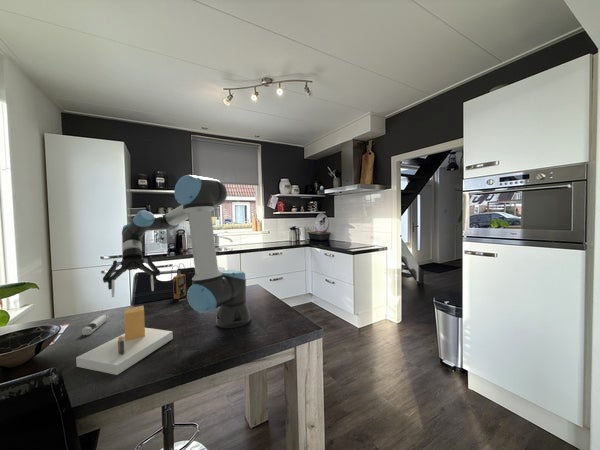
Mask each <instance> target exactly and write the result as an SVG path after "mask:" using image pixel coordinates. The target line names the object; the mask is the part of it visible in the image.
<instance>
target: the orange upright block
mask: <svg viewBox="0 0 600 450" xmlns="http://www.w3.org/2000/svg"><path fill="white" fill-rule="evenodd" d="M123 315H124V316H123V318H124V334H125V341H128V340H132V339H136V338H140V337H144V336H145V328H146V324H145V307H144V305H139V306H134V307H128V308H124V314H123Z"/></svg>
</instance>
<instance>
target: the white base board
mask: <svg viewBox="0 0 600 450" xmlns="http://www.w3.org/2000/svg"><path fill="white" fill-rule="evenodd" d="M173 333H174V332H173V331H172V330H165V329H158V328H152V327H151V328H149V327H145V336H144V337H140V338H136V339H132V340H128V341H125V333H122V334H120V335H119V336H116V337H115V338H113V339H110V340H109V341H107V342H105V343H103V344H101V345H99V346H96V347H95V348H92V349H90V350H89V351H86V352H85V353H82V354H80V355H78V356H76V358H75V360H76V368H77V367H78V368H83V369H86V370H87V369H88V370H91V371H96V372H101V373H106V374H110V375H115V376H118V375H119V374H121V373H122V372H124V371H125V370H127V369H129V368H130V367H132V366H133V365H135V364H136V363H138V362H139V361H142V360H143V359H144V358H145V357H147V356H149V355H150V354H152V353H154V351H156V350H157V349H159V348H161V347H163V346H164V345H166V344H168V342H170V341H172V340H173V338H174V336H173Z"/></svg>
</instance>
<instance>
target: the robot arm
mask: <svg viewBox="0 0 600 450" xmlns="http://www.w3.org/2000/svg"><path fill="white" fill-rule="evenodd" d="M227 196H228V192H227V187H226V186H225V185H224V183H223V182H222V181H220V180H219V179H215V178H211V177H204V176H200V175H199V176H198V175H195V174H193V175H191V174H186V175H183V176H181V177H180V178H179V179H178V181H177V182H176V184H175V187H174V199H175V201H176V202H177V203H178V204H180V205H179V206H177V207H176V208H174V209H172V210H170V211H169V212H166V213H164V214H158V215H157V214H153V213H152V212H150V211H147V210H145V209H143V210H139V211H138V212H137V213H136V214H135V215H134V216H133V218H132V220H131V222H130V223H127V224H126V225H124V226H123V227H122V229H121V230H122V231H121V240H122V241H121V243H122V245H121V247H122V249H121V252H122V253H121V258H122V260H121V261H117V260H116V259H115V260H112V261H113V263H112V265H111V267H110V268H109V269H108V270H107V272H106V273H105V274H104V276H103V277H102V282H103V283H106V284H108V285H107V287H108V290H111V298H114V297H115V289H116V288H115V287H116V286H115V285H116V283H115V280H117V279H118V278H119V277H120V276H121V275H122V274H124V273H125V272H126V271H127V270H128V271H132V270H138V269H139V270H140V271H142V272H145V274H147V275H149V277H150V288H151V292H154V291H155V290H154V289H155V284H156V283H157V277H159V276H161V271H160V269H159V268H158V267H157V265H155V264H154V262H153V261H152V260H151V259H152V258H151V257H147V258H145V259H144V258H143V245H142V238H143V236H144V235H145V234H146V232H148V231H163V230H164V231H165V230H167V231H168V230H170V231H171V230H175V229H178V227H179V226H180V224H181V223H183V222H185V221H188V224H189V230H190V240H191V246H192V247H191V250H192V257H193V264H194V265H193V266H194V272H195V274H194V276H192V278H191V281H192V283H191V284H192V285H190V287H188V290H186V291H187V292H186V300H187V302H188V304H189V305H190V307H191V308H192V309H193V310H194V311H195V312H197V313H200V314H205V313H209V312H211V311H215V310H216V309H218V311H217V314H216V318H215V325H216V326H217V327H219V328H222V329H235V328H236V329H237V328H239V327H240V328H241V327H243V326H245V325H247V324H249V322H251V312H250V309H249V307H248V304H247V283H246V282H247V278H246V273H245V272H244V271H243V270H242V271H241V270H232V269H230V270H221V271H220V270H219V265H218V258H217V251H216V242H215V235H214V225H213V219H212V212H213V211H214V209H215V208H217V207H220V206H222V204H224V202H225V201H226V200H227ZM144 263H145V264H147V265H148V267H147V266H146V265H145V264H144ZM120 265H121V266H120ZM119 266H120V268H119V269H117V268H118V267H119ZM116 269H117V271H116Z"/></svg>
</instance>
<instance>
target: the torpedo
mask: <svg viewBox="0 0 600 450" xmlns="http://www.w3.org/2000/svg"><path fill="white" fill-rule="evenodd" d="M101 310H102V311H101V312H102V313H101V315H99V316H98V317H96V318H94V320H92V321H91V322H90V323H88V324H87V325H86V326H85V327H83V328H82V329H81V335H82V336H85V335H86V336H89V335H91V334H93V332H95V331H96V330H97V329H98V328H100V327H101V326H102V325H104V324H105V322H107V320H108V318H109V317H110V315H109V314H108V313H107V312H106V313H104V312H103V307H102V308H101ZM92 329H93V330H92Z"/></svg>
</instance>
